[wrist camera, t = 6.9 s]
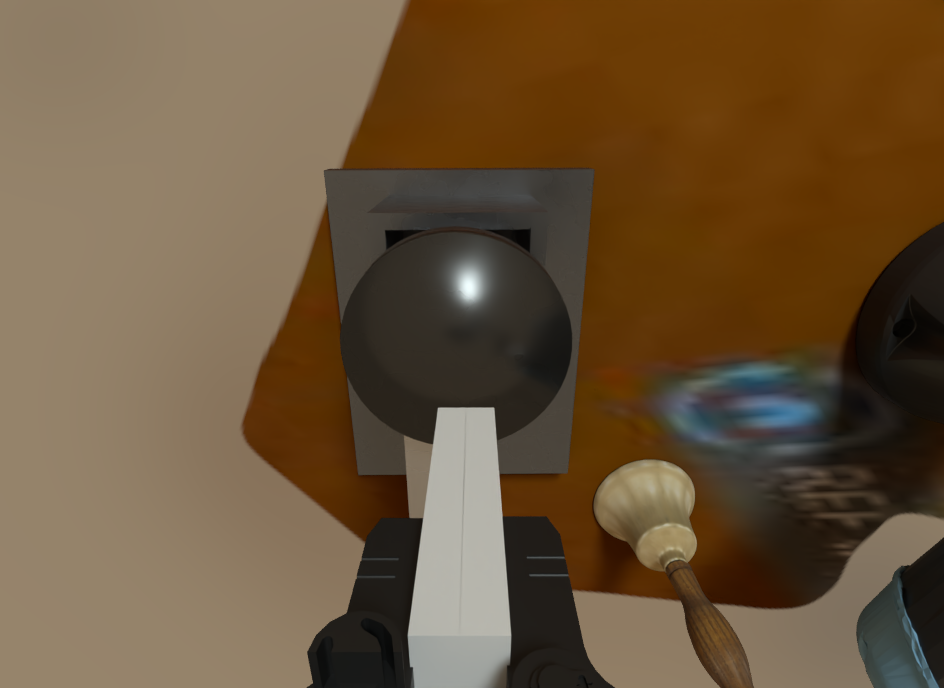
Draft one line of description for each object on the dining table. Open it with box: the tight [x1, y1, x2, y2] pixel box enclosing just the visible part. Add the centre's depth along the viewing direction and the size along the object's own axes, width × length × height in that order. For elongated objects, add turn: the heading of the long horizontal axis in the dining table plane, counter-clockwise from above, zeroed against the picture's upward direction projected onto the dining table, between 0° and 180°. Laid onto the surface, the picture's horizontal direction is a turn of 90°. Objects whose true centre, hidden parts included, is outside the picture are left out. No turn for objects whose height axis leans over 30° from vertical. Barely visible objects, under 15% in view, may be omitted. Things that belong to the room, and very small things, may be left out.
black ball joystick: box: [340, 226, 572, 518], centre depth 25 cm, size 9×17×9 cm, turn 0°
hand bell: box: [594, 460, 754, 688], centre depth 34 cm, size 8×8×16 cm
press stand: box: [324, 168, 594, 475], centre depth 29 cm, size 16×22×14 cm
